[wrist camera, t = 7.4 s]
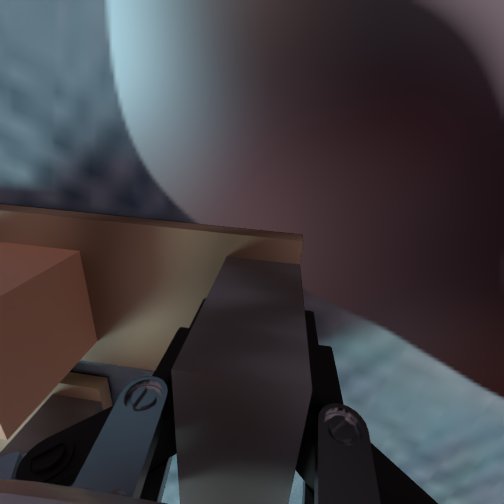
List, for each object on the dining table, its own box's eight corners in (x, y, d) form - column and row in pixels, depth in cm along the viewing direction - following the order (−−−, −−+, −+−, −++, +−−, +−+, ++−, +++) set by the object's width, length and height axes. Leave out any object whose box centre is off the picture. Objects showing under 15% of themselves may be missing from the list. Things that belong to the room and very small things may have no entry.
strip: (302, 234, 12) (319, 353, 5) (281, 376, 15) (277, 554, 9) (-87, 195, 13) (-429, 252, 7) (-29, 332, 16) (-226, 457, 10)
